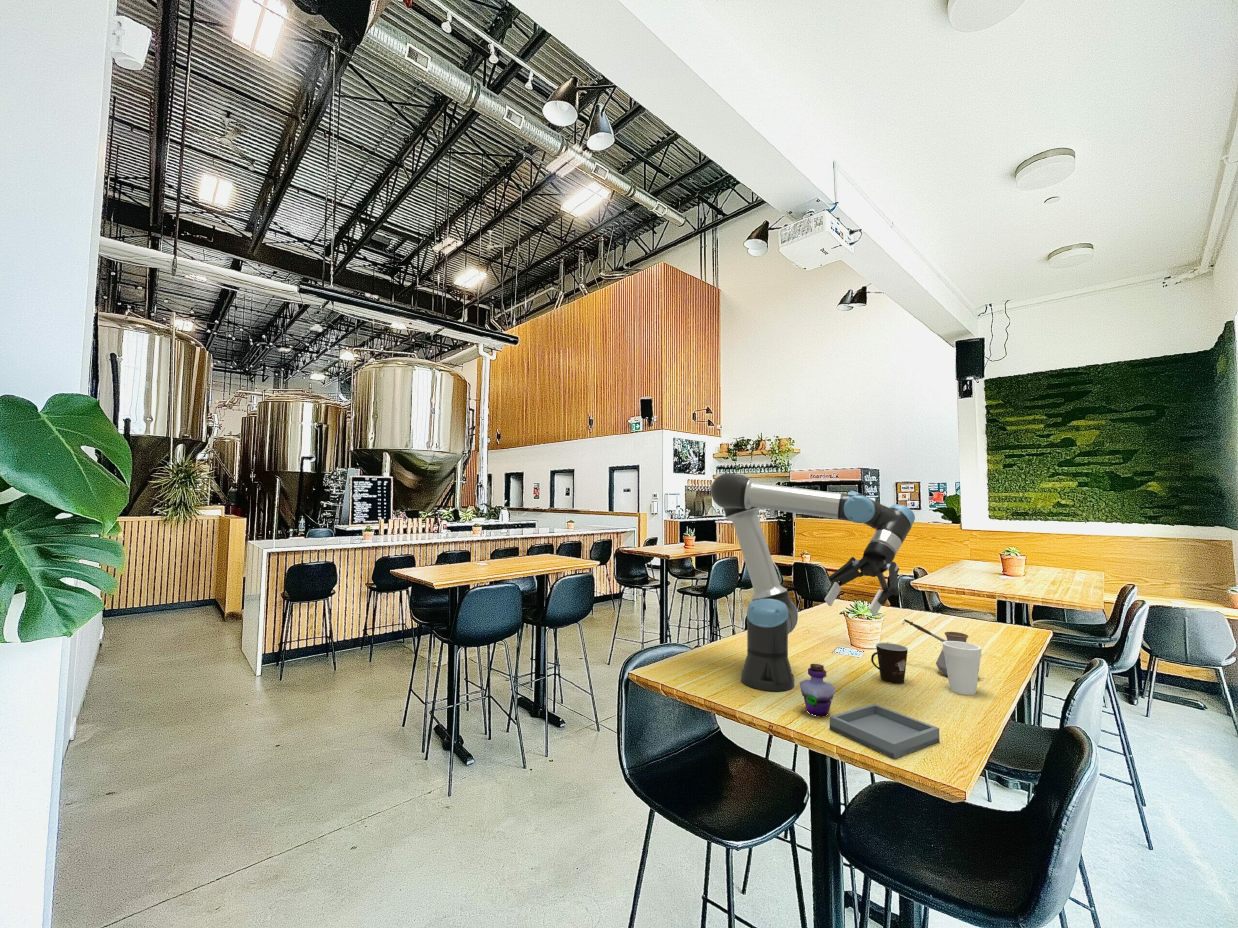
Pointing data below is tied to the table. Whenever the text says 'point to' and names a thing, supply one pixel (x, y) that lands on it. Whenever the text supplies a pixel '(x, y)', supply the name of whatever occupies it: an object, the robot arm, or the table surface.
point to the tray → (884, 730)
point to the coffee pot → (950, 637)
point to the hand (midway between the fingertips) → (848, 607)
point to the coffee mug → (891, 662)
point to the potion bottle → (817, 691)
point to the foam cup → (962, 666)
